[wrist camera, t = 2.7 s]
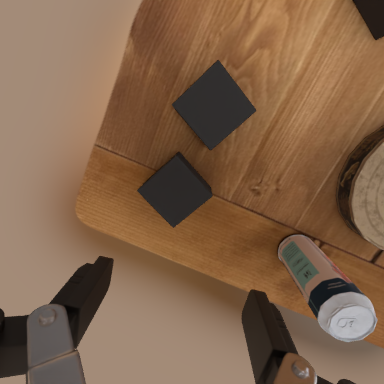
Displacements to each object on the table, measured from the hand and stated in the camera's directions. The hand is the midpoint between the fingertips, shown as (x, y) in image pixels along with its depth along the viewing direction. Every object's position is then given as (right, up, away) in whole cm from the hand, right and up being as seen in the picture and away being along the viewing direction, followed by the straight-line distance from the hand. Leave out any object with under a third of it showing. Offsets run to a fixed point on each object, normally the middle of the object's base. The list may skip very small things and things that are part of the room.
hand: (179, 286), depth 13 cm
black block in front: (-1, +6, +15) cm, 17 cm away
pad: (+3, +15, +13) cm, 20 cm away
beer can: (+15, -2, +18) cm, 23 cm away
